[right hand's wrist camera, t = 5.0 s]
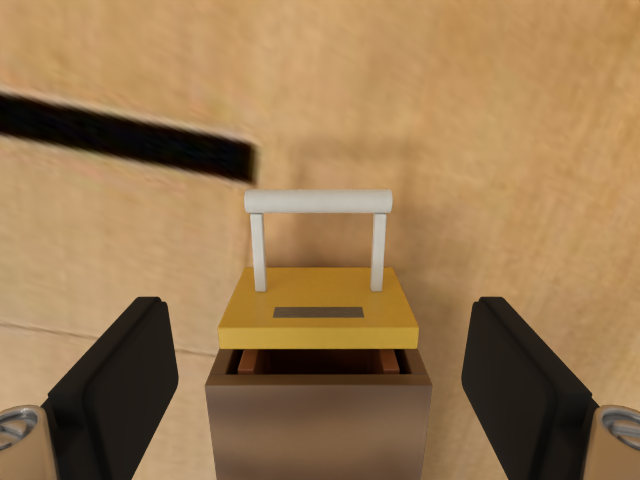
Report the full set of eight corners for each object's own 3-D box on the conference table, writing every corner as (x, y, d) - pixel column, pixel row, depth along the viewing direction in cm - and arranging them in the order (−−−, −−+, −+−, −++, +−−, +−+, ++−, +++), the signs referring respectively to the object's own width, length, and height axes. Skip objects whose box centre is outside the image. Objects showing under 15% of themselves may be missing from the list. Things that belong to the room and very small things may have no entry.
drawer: (237, 177, 22) (204, 209, 16) (399, 177, 22) (432, 209, 16) (261, 494, 31) (246, 598, 24) (376, 494, 31) (391, 597, 24)
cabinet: (240, 295, 26) (204, 385, 17) (397, 295, 26) (432, 385, 17) (258, 514, 33) (238, 649, 25) (380, 514, 33) (399, 649, 25)
